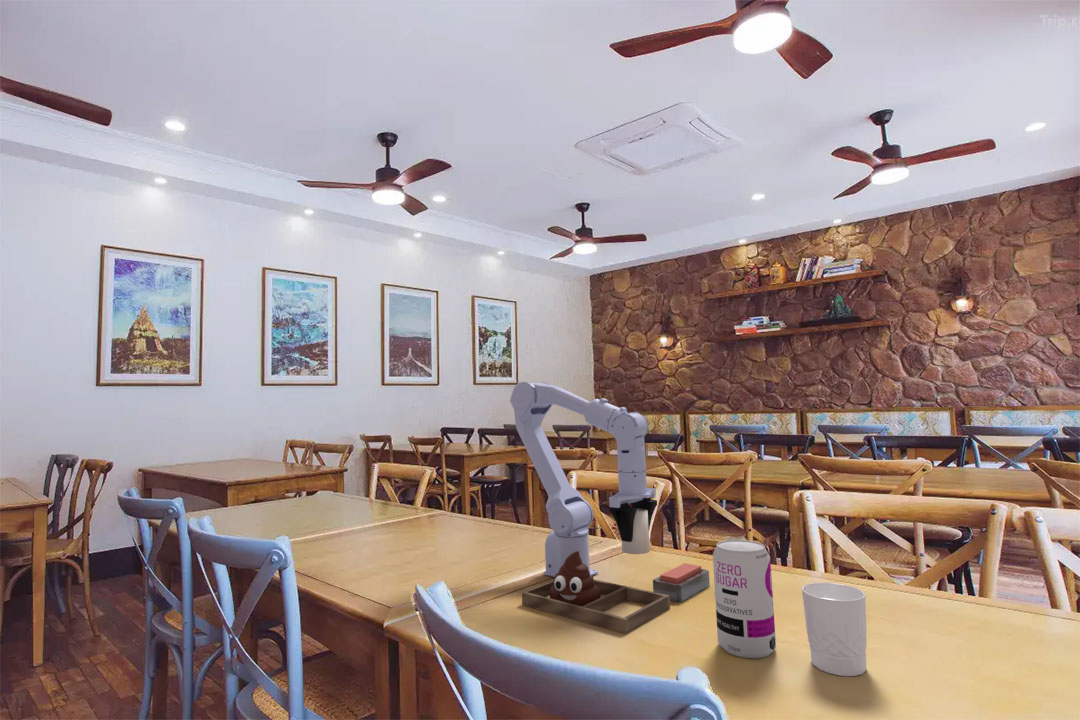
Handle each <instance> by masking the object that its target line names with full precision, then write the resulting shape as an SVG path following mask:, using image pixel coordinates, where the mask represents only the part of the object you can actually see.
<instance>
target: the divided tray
mask: <svg viewBox="0 0 1080 720" xmlns="http://www.w3.org/2000/svg"><path fill="white" fill-rule="evenodd" d="M593 579H594V584H595V585H596V586H597V587H598V588H599V590H600V592H601V595H603V596H601V598H599V599H597V600H595V601H593V602H590V603H588V604H586V605H584V606H578V605H574V604H570V603H566V602H562V601H559V600H555V599H551V598H550V596H549V591H550V588H551V587H552V585H554V584H553V580H551V581H548V582H545V583H543V584H541V585H538V586H535V587H532V588H530V589H528V590H527V589H526V590H525V591H523V592H521V605H522V606H525V607H526V606H527V607H528V608H533V609H537V610H539V611H540V610H541V611H542V612H543V611H544V612H548V613H550V614H553V615H554V614H555V615H558V616H562V617H565V618H569V619H572V620H575V621H580V622H583V623H587V624H589V625H593V626H597V627H600V628H604V629H607V630H610V631H614V632H617V633H622V634H625V635H627V634H629V633H631V632H632V631H633V630H635V629H637V628H639V627H640V626H642V625H644V624H646V623H647V622H649V621H650V620H653V619H654V618H655V617H657V616H659V615H661V614H663V613H665V612H666V611H668V610H670V609H671V601H670V596H669V595H664V594H660V593H655V592H653V591H650V590H644V589H641V588H636V587H631V586H627V585H622V584H617V583H614V582H613V583H612V582H609V581H603V580H600V579H595V578H593ZM625 601H631V602H636V603H639V604H644V606H643V607H641V608H640V609H637V610H635V611H634V612H631V613H630V614H628V615H626V616H620V615H615V614H612V613H608V612H605V611H607V610H609V609H611V608H613V607H616V606H618V605H619V604H622V603H623V602H625Z"/></svg>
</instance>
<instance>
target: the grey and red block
mask: <svg viewBox="0 0 1080 720" xmlns="http://www.w3.org/2000/svg"><path fill="white" fill-rule="evenodd" d="M701 571H702V572H700V573H699V574H697V575H695V576H693V577H691V578H689V579H687V580H685V581H683V582H682V583H680V584H675V583H670V582H665V581H660V576H658V577H655V578H654V579H652V588H653V589H652V590H653V591H652V592H655V593H660V594H664V595H669V596H670V602H676V603H678V602H680V603H683V602H685V601H686V600H688V599H690V598H692V597H694V596H696V595H697V594H698V593H700V592H702V591H704V590H706V589H707V588H709V587H710V586H711V585H710V584H711V583H710V571H709V570H707V569H704V568H701Z"/></svg>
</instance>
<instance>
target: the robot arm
mask: <svg viewBox="0 0 1080 720" xmlns="http://www.w3.org/2000/svg"><path fill="white" fill-rule="evenodd" d="M509 401H510V404H511V406H512V409H513V412H514V422H515V429H516V431H517V434H518V435H519V438H520V439H521V442H522V443H523V446H524V448H525V450H526V452H527V455H528V456H529V459H530V461H531V462H532V465H533V467H534V469H535V471H536V473H537V476H538V477H539V479H540V481H541V484H542V486H543V487H544V488H543V489H544V490H545V491H546V494H547V497H548V499H547V501H546V503H545V510H546V512H547V514H548V523H549V526H550V528H551V530H552V531H551V532H550V533H548V535H547V537H546V539H545V543H544V553H545V554H544V555H545V557H544V558H545V560H544V561H545V571H544V572H543V575H544V576H549V577H553V578H554V576H555V575H556V573H558V572H559V569H560V567H561V566H562V565H563V564H564V562H565V560H566V558H567V557H568V556H569V555H571V554H572V553H574V552H576V551H579V555H580V558H581V559H582V563H584V564H585V565H587V567H588V569H589V572H590V575H591V576H592V577H593V576H594V575H597V574H598V573H599V570H596V569H592V568H590V567H591V566H590V565H591V564H590V543H589V542H590V541H589V530H590V527H589V526H590V525H591V524H592V522H593V519H594V510H593V508H592V505H591V504H590V503H589V502H588V501H586V500H585V498H584V497H583V496H582V494H581V492H580V491H578V490H577V489H575V488H574V487H573V486H571V484H570V482H569V480H568V478H567V476H566V473H565V472H564V470H563V468H562V466H561V463H560V462H559V459H558V458H557V455H556V454H555V452H554V450H553V448H552V446H551V444H550V442H549V440H548V437H547V435H546V433H545V431H544V429H543V427H542V424H543V420H544V418H545V417H546V415H547V413H548V412H549V411H550V409H551V407H552V406H553V405H557V406H559V407H562V408H565V409H566V410H569V411H572V412H575V413H577V414H579V415H582V416H583V417H584V420H585V423H587V424H588V425H590V426H594V427H596V428H598V429H600V430H602V431H604V432H607V433H609V434H611V435H612V436H613V438H614V439H615V441H616V451H617V452H616V453H617V471H618V472H617V476H618V477H617V478H618V492H617V493H615V494H614V495H612V496H610V497H609V498H608V501H609V502H608V504H609V505H608V507H609V508H608V510H609V512H610V513H611V515H612V517H613V519H614V521H615V522H616V526H617V529H618V533H619V537H620V539H621V542H622V541H626V542H632V539H633V523H634V517H635V514H636V511H637V508H639V509H646V510H648V527H649V529H650V528H651V527H650V526H651V522H652V518H653V515H654V512H655V509H656V507H657V506H658V500H656V499H655V498H656V488H655V487H654V488H653V487H652V488H651V487H648V486H647V465H646V463H647V462H646V449H645V447H646V446H645V436H646V435H647V433H648V431H649V423H648V421H647V419H646V417H645V416H644V415H642V414H641V413H640V412H638V411H632V412H629V413H628V411H627V410H628V409H627V408H626V407H624V406H621V407H618V406H616V405H613V404H612V403H609V400H608V399H607V398H604V397H602V398H595V399H592V400H591V401H589V400H587V399H585V398H583V397H581V396H579V395H576V394H574V393H573V392H570V391H568V390H566V389H565V388H563V387H561V386H559V385H556V384H550V383H548V382H546V381H542V382H527V381H520V382H518V383H517V384H516V385H515V386H514V387H513V389H512V393H511V395H510V399H509ZM630 504H631V506H630Z"/></svg>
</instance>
